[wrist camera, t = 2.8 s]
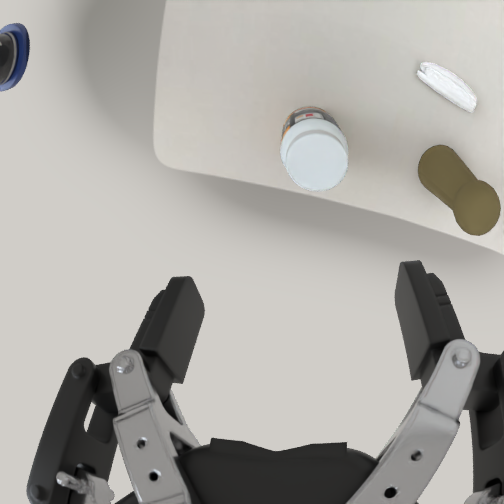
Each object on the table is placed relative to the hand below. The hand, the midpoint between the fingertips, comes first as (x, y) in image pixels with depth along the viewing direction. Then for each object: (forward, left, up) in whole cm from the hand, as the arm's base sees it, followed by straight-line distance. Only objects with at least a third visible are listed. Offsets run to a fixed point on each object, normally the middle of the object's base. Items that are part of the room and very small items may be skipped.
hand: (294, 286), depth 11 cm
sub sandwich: (+15, +10, -22) cm, 29 cm away
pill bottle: (+1, +1, -22) cm, 22 cm away
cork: (+17, 0, -22) cm, 28 cm away
